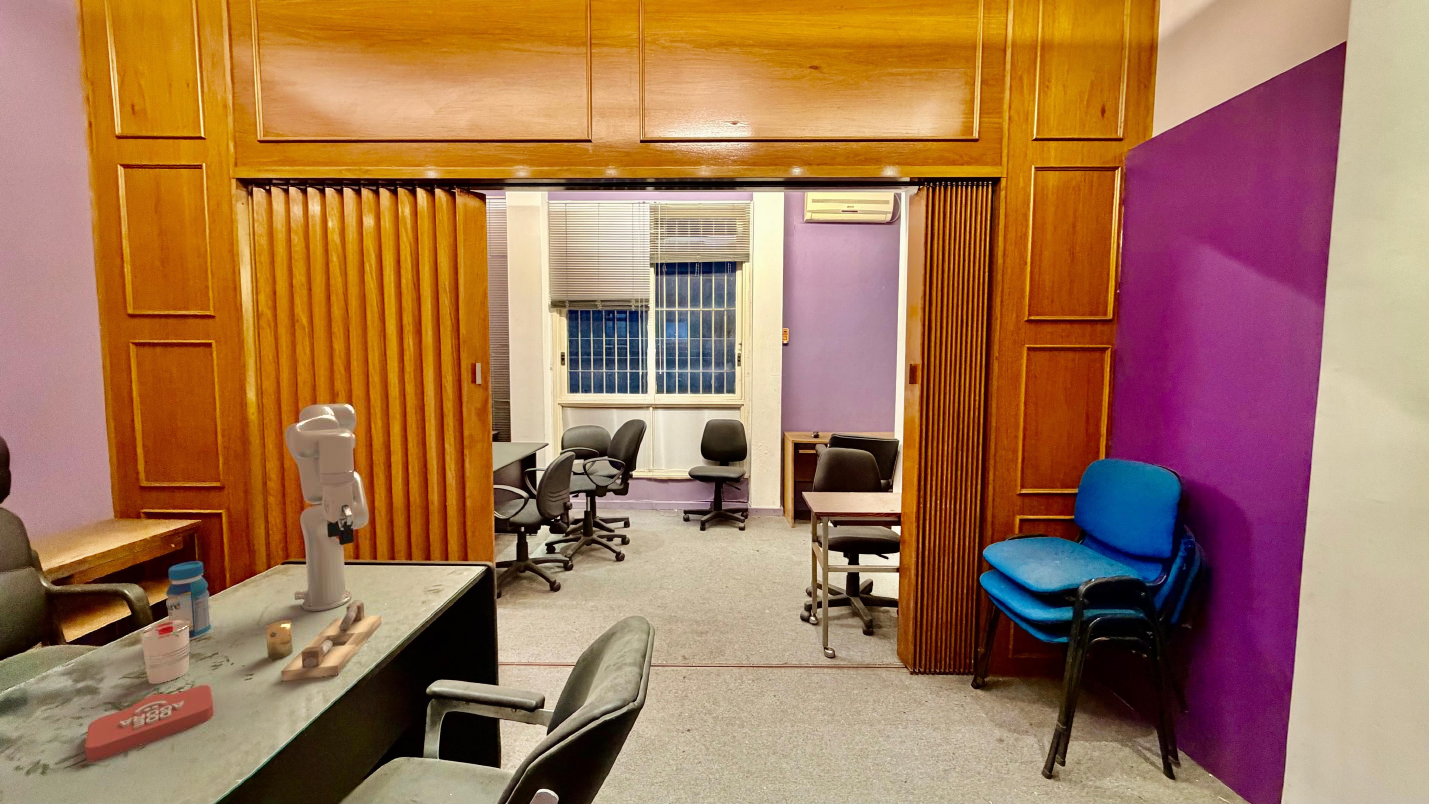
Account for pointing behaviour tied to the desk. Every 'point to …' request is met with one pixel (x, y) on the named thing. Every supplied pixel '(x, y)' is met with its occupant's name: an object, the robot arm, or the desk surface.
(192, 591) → the blue supplement bottle
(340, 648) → the shaft jig
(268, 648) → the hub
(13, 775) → the desk surface
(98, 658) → the desk surface
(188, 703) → the plaque
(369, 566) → the desk surface
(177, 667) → the striped cup with float
